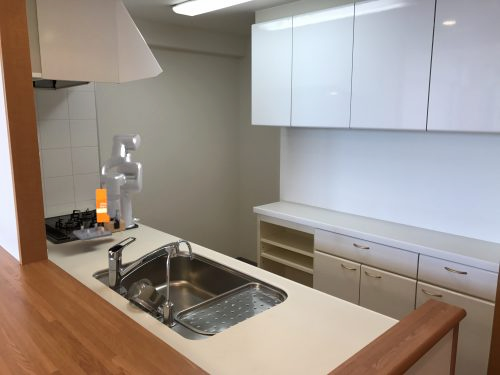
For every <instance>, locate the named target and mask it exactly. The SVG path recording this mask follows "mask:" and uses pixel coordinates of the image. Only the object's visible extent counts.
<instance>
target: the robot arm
mask: <svg viewBox="0 0 500 375" xmlns="http://www.w3.org/2000/svg"><path fill="white" fill-rule="evenodd" d="M141 139H142V138H141V136H140V135H139V134H137V133H116V134H114V135H113V137H112V146H111V153H110V158H109V159H107V160H106V161H104V163H103V165H102V166H101V169H100V174H99V175H100V176H99V183H100V185H102V186H104V187H105V189H106V200H107V215H108V216H109V221H114V229H119V228H120V220H122V221H124V222H125V229H129V228H130V229H131V228H133V227H134V226H135V223H136V222H140V218H134V217H133V216H132V213H133V212H132V198H131V196H130V195H129V193H131V194H135V193H141V191H142V189H143V164H142V163H141V162H139V161H132V154H131V153H130V151H133V152H134V151H136V150H138V149H139V148H140V146H141V143H142V140H141ZM114 167H116V172H109V171H110V170H111V169H112V168H114Z"/></svg>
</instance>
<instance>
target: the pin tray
mask: <svg viewBox="0 0 500 375" xmlns="http://www.w3.org/2000/svg"><path fill="white" fill-rule="evenodd" d="M72 233H73V235H74V236H76V237H77V238H78V239H79V240H80V241H82V242H83V241H84V242H85V241H91V240H95V239H99V238H105V237H111V236H113V232H112V233H111V232H110V231H108V230H107V229H105V228H104V226H102V225H101V226H98V222H97V223H94V227H89V228H84V225H81V226H80V229H78V230H73V231H72Z"/></svg>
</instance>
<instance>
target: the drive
mask: <svg viewBox="0 0 500 375" xmlns="http://www.w3.org/2000/svg"><path fill="white" fill-rule="evenodd" d="M103 227H104V228H105V229H107V230H108V231H110V232H111V233H112V234H113V233H116V232H123V231H126V228H125V222H124V221H122V220H120V228H119V229H114V221H109V222H103Z"/></svg>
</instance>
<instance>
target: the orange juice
mask: <svg viewBox="0 0 500 375" xmlns="http://www.w3.org/2000/svg"><path fill="white" fill-rule="evenodd" d="M95 203H96V204H95V205H96V221H97V223H104V222H109V216H108V215H107V200H106V188H101V189H99V188H98V189H97V188H96V189H95Z"/></svg>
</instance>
